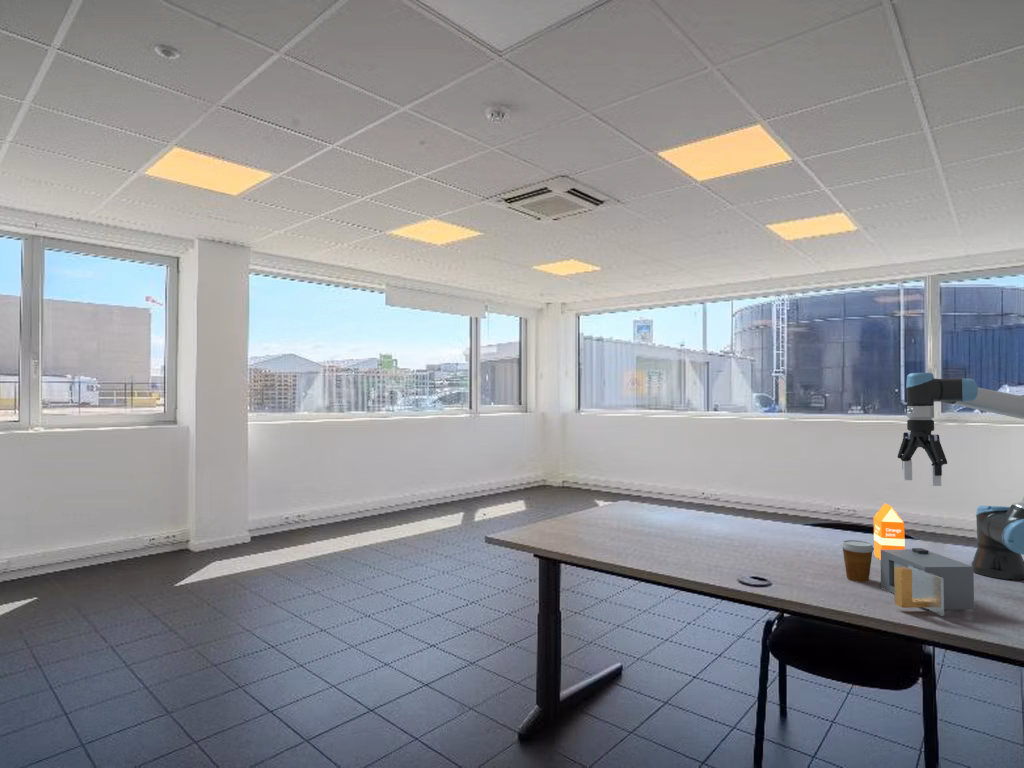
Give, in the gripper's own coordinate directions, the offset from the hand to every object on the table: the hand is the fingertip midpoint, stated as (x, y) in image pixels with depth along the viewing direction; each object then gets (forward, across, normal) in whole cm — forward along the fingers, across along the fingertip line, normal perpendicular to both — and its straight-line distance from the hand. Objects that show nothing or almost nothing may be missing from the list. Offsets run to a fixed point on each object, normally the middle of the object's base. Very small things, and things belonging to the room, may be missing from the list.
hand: (921, 483), depth 202 cm
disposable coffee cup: (+32, 0, -22) cm, 39 cm away
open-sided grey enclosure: (+32, +19, -13) cm, 39 cm away
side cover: (+31, +30, -24) cm, 49 cm away
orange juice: (+32, -25, +5) cm, 41 cm away
